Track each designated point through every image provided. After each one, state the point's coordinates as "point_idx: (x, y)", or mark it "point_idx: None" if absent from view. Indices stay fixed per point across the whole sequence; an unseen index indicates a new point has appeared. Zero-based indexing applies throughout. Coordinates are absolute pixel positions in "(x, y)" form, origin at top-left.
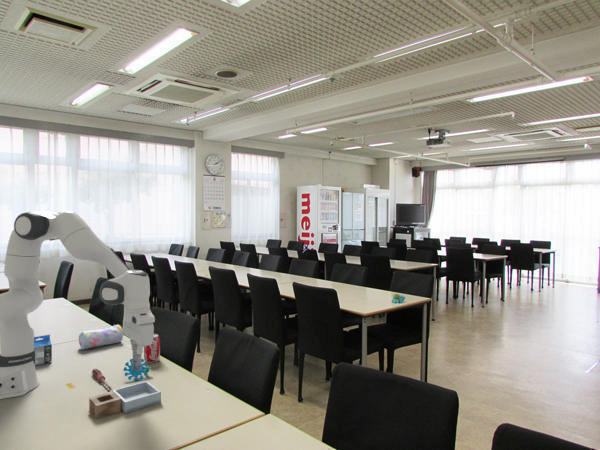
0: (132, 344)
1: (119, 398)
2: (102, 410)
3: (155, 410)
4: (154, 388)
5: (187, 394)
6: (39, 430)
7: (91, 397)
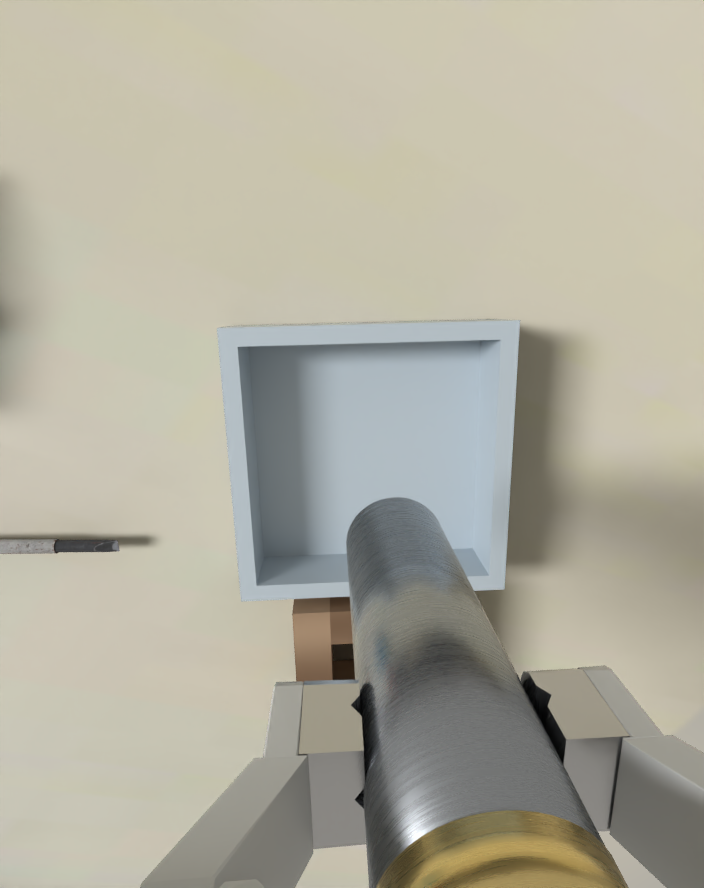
0: (296, 876)
1: None
2: None
3: (570, 395)
4: (421, 338)
5: (503, 81)
6: None
7: None
